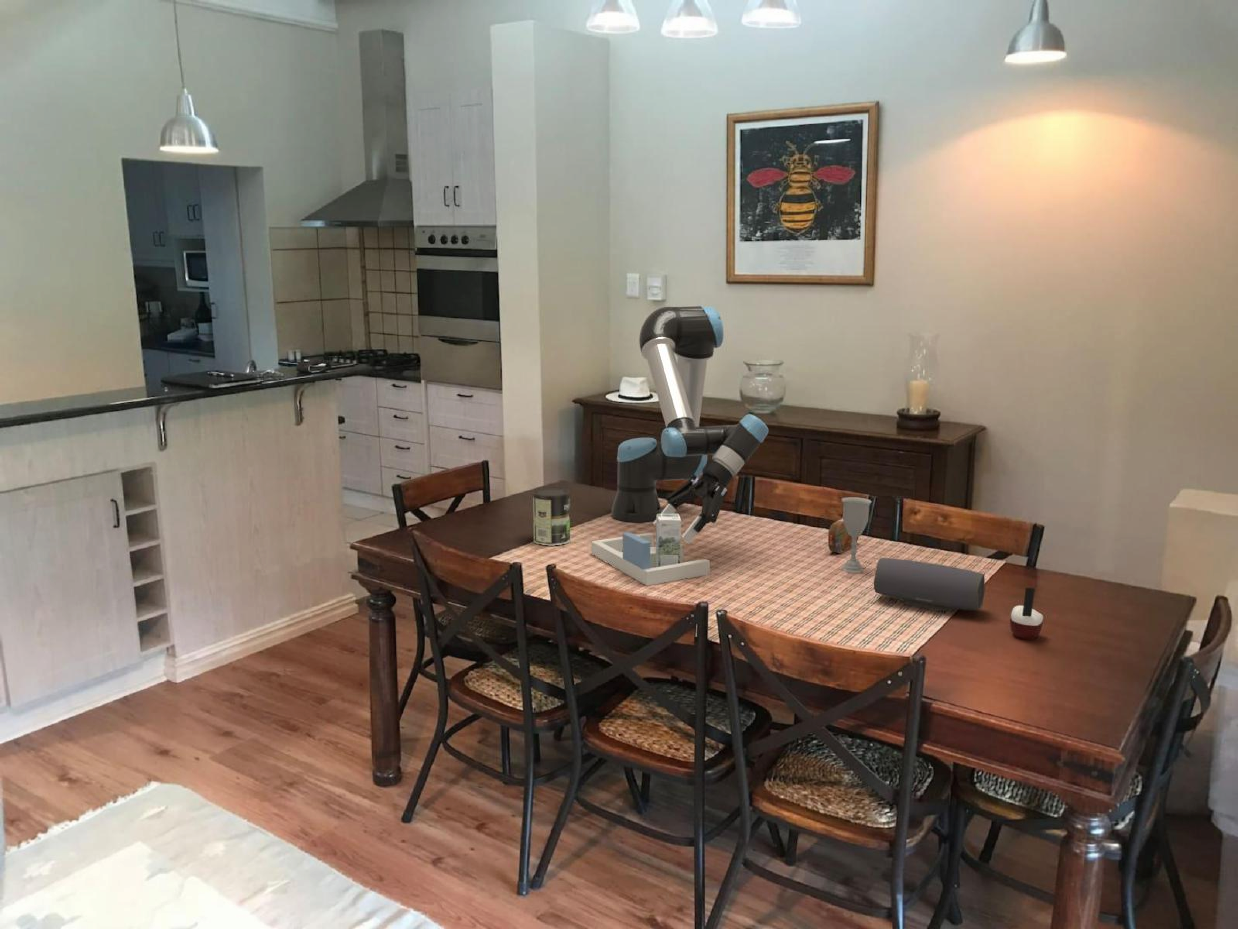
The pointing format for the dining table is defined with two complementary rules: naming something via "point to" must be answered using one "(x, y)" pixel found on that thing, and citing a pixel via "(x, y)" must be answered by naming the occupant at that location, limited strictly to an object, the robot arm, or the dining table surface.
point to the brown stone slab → (839, 537)
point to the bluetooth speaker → (929, 584)
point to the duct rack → (645, 559)
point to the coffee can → (551, 516)
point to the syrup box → (668, 539)
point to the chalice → (855, 527)
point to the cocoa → (1026, 618)
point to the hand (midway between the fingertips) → (670, 533)
